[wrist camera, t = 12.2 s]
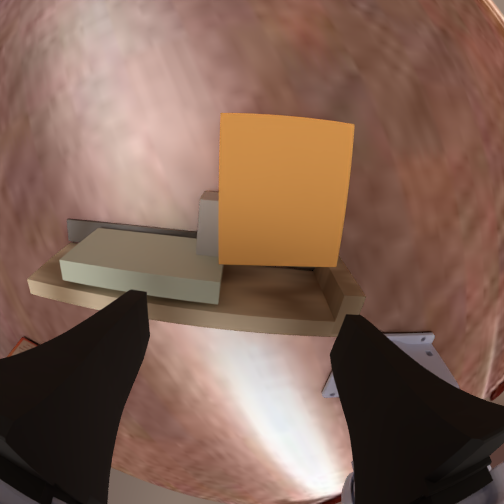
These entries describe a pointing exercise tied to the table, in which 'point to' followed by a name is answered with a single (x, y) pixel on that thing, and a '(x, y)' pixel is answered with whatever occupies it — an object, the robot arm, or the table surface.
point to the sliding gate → (152, 260)
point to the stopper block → (282, 189)
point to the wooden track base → (225, 293)
